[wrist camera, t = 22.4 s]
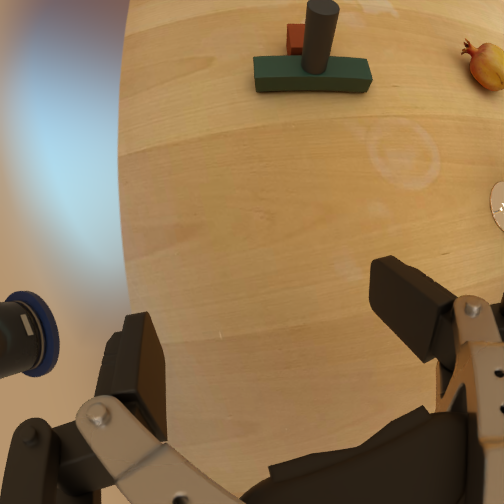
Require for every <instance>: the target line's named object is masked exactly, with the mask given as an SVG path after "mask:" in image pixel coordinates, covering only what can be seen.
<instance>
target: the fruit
mask: <svg viewBox="0 0 504 504" xmlns="http://www.w3.org/2000/svg"><path fill="white" fill-rule="evenodd" d="M465 40H466V41H467V43H468V44H467V43H465V42H464V45H465V47H466V49H463V50H462V51H465V52H462V53H461V55H462V54H463V53H468V54H470V55H471V57H472V58H471V61H470V71H471V73H472V75H473V77H474V78H475V79H476V80H477V81H478V82H479V83H480V84H481V85H482V86H483V87H485V88H486V89H489V90H492V91H498V90H502V89H504V51H503V50H502V49H501V48H499V47H498V46H496V45H494V44H491V43H484V44H482V45H481V46H480V47H479V48H475V47H473V46H472V45H471V44H470V42H469V41H468V40H467V39H466V38H465Z"/></svg>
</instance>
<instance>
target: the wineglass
mask: <svg viewBox="0 0 504 504" xmlns="http://www.w3.org/2000/svg"><path fill="white" fill-rule="evenodd" d="M490 206H491V211H492V215H493V217H494V220H495V222H496V223H497V225H498V226H499V227H500V229H501V230H503V231H504V182H498V183H497V184H495V185H494V187H493V189H492V191H491V195H490Z"/></svg>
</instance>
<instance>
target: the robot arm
mask: <svg viewBox="0 0 504 504" xmlns="http://www.w3.org/2000/svg"><path fill="white" fill-rule="evenodd" d="M369 302H370V306H371V308H372V310H373V311H374V312H375V313H376V314H377V315H378V316H379V317H380V318H381V320H382V321H383V322H384V323H385V324H386V325H387V326H388V327H389V328H390V329H391V330H392V331H393V332H394V333H395V334H396V335H397V336H398V337H399V338H400V339H401V340H402V341H403V342H404V343H405V344H406V345H407V346H408V347H409V348H410V349H411V351H412V352H413V353H414V354H415V355H416V356H417V357H418V358H419V359H420V360H421V361H422V362H423V363H426V362H428V361H430V360H432V359H434V358H437V359H438V362H437V365H436V409H435V413H431V414H429V412H428V411H427V410H426V409H425V407H424V406H423V405H422V406H420V407H418V408H417V409H415V410H413V411H411V412H409V413H407V414H405V415H403V416H401V417H399V418H397V419H395V420H393V421H391V422H390V423H389V424H387V425H386V426H385V427H384V428H382V429H381V430H380V431H379V432H377V433H376V434H375V435H373V436H372V437H371V438H369V439H368V440H367V441H365V442H364V443H363V444H361V445H360V446H357V447H354V448H348V449H342V450H335V451H328V452H321V453H312V454H309V455H305V456H302V457H299V458H296V459H292V460H289V461H286V462H282V463H278V464H275V465H271V466H268V468H269V472H270V477H268V478H267V479H265V480H263V481H261V482H259V483H258V484H256V485H255V486H253V487H252V488H251V489H249V490H248V491H247V492H246V493H244V494H243V496H241V497H240V498H239V499H238V498H237V497H236V496H234V495H233V494H231V493H230V492H228V491H227V490H225V489H224V488H223V487H221V486H220V485H219V484H217V483H216V482H215V481H213V480H212V479H211V478H209V477H208V476H207V475H205V474H204V473H203V472H201V471H200V470H199V469H198V468H196V467H195V466H194V465H193V464H191V463H190V462H189V461H188V460H187V459H185V458H184V457H183V456H182V455H181V454H179V453H178V452H177V451H176V450H175V449H174V448H172V447H171V446H170V445H168V444H167V443H164V444H162V443H161V442H163V441H167V421H166V383H165V358H164V353H163V350H162V347H161V344H160V341H159V339H158V336H157V333H156V331H155V328H154V325H153V323H152V320H151V317H150V315H149V313H148V312H147V311H146V312H141V313H136V314H131V315H126V317H125V321H124V325H123V329H122V331H120V332H115V333H114V334H113V335H112V337H111V338H110V339H109V341H108V342H107V344H106V347H105V352H104V356H103V359H102V366H101V368H100V372H99V377H98V381H97V386H96V390H95V396H94V398H92V399H90V400H88V401H87V402H85V403H84V404H83V405H82V406H81V407H80V409H79V410H78V412H77V415H76V420H75V421H72V422H69V423H66V424H63V425H60V426H58V427H54V428H51V426H50V425H49V424H48V423H47V422H46V421H45V420H43V419H41V418H30V419H27V420H25V421H24V422H22V423H21V424H20V425H19V426H18V427H17V429H16V430H15V432H14V434H13V437H12V441H11V445H10V449H9V453H8V458H7V462H6V467H5V472H4V477H3V483H2V489H1V496H0V504H101V489H102V488H105V487H108V486H112V485H116V486H117V488H118V489H119V490H120V491H121V493H122V494H123V495H124V496H125V497H126V498H127V499H128V501H129V502H130V503H131V504H504V293H503V297H502V300H501V303H497V304H491V305H489V303H488V302H487V301H485V300H484V299H482V298H480V297H477V296H473V295H463V296H460V297H456V296H455V295H454V294H452V293H451V292H450V291H448V290H447V289H445V288H444V287H443V286H441V285H440V284H438V283H437V282H434V281H433V279H431V278H430V277H428V276H426V275H425V274H424V273H423V272H421V271H420V270H418V269H416V268H414V267H411V266H408V265H406V264H404V263H403V262H401V261H400V260H398V259H397V258H395V257H394V256H392V255H389V256H386V257H382V258H378V259H375V260H373V261H372V263H371V268H370V286H369ZM46 346H47V345H46V334H45V330H44V326H43V324H42V321H41V319H40V317H39V315H38V313H37V312H36V310H35V309H34V308H33V307H32V306H31V305H30V304H29V303H27V302H25V301H21V300H18V301H11V302H0V379H1V378H4V377H7V376H10V375H14V374H17V373H20V372H23V371H26V370H31V369H34V368H37V367H38V366H40V365H41V364H42V362H43V360H44V358H45V354H46Z"/></svg>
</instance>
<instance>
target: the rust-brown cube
mask: <svg viewBox="0 0 504 504" xmlns="http://www.w3.org/2000/svg"><path fill="white" fill-rule="evenodd" d="M304 31H305V24H287V45H286V46H287V53H288V55H302V50H303V40H304Z"/></svg>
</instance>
